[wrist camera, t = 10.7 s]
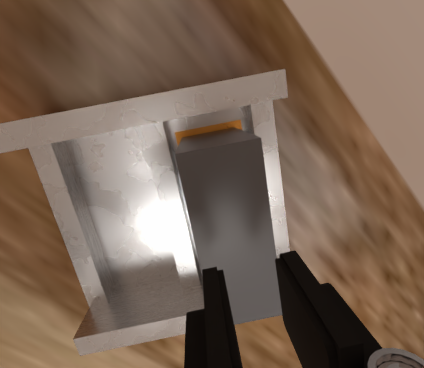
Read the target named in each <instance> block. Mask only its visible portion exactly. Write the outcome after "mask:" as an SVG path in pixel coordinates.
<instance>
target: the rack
mask: <svg viewBox="0 0 424 368" xmlns="http://www.w3.org/2000/svg"><path fill="white" fill-rule="evenodd" d="M287 97H288V92H287V82H286V72H285V69H281V70H276V71H271V72H266V73H261V74H255V75H250V76H245V77H240V78H235V79H229V80H224V81H219V82H214V83H209V84H204V85H198V86H193V87H188V88H183V89H178V90H172V91H167V92H162V93H157V94H152V95H146V96H141V97H136V98H131V99H126V100H120V101H115V102H110V103H105V104H100V105H95V106H89V107H84V108H79V109H74V110H69V111H63V112H58V113H53V114H48V115H43V116H37V117H32V118H27V119H22V120H17V121H12V122H6V123H1V124H0V153H5V152H10V151H15V150H20V149H25V148H28V149H29V151H30V154H31V156H32V159H33V162H34V164H35V167H36V169H37V172H38V175H39V177H40V180H41V182H42V185H43V188H44V190H45V193H46V195H47V198H48V201H49V203H50V206H51V208H52V211H53V214H54V216H55V219H56V221H57V224H58V227H59V229H60V232H61V234H62V237H63V240H64V242H65V245H66V247H67V250H68V253H69V255H70V258H71V260H72V263H73V266H74V268H75V271H76V274H77V276H78V279H79V281H80V284H81V287H82V289H83V292H84V294H85V297H86V300H87V302H88V305H89V307H90V308H89V310H88V312H87V313H86V315H85V317H84V319H83V321H82V323H81V325H80V327H79V329H78V331H77V332H76V334H75V336H74V338H73V340H74V343H75V345H76V347H77V350H78V352H79V355H80V356H81V355H86V354H91V353H96V352H101V351H105V350H110V349H115V348H120V347H124V346H129V345H134V344H139V343H143V342H148V341H153V340H158V339H163V338H167V337H172V336H177V335H182V334H185V332H186V313H187V312H190V311H195V310H200V309H204V294H203V278H202V273H201V269H200V264H199V260H198V255H197V251H196V246H195V242H194V238H193V233H192V229H191V224H190V220H189V215H188V211H187V206H186V202H185V197H184V193H183V188H182V184H181V180H180V175H179V171H178V166H177V162H176V157H175V153H176V150H177V148H178V145H179V143H180V141H181V138H182V137H187V136H192V135H197V134H202V133H207V132H213V131H218V130H223V129H228V128H233V127H235V128H237V129H240V130H243V131H245V132H248V133H250V134H253V135H256V136H258V137H261V140H262V148H263V156H264V164H265V171H266V179H267V187H268V195H269V203H270V210H271V218H272V226H273V234H274V241H275V249H276V257H277V258H280V257H279V255H280V253H285V252H290V248H289V239H288V230H287V222H286V213H285V205H284V196H283V187H282V179H281V170H280V161H279V153H278V144H277V136H276V127H275V118H274V110H273V101H272V100H277V99H282V98H287Z"/></svg>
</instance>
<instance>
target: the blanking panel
mask: <svg viewBox="0 0 424 368" xmlns="http://www.w3.org/2000/svg"><path fill="white" fill-rule="evenodd" d="M175 157H176V162H177V166H178V171H179V175H180V180H181V184H182V188H183V193H184V197H185V202H186V206H187V211H188V215H189V220H190V224H191V229H192V233H193V238H194V242H195V246H196V251H197V255H198V260H199V264H200V269H201V273H202V269H207V268H212V267H217V270H223V272H224V277H225V281H226V286H227V291H228V296H229V301H230V306H231V311H232V316H233V321H234V325H235V324H240V323H245V322H250V321H255V320H260V319H265V318H269V317H274V316H279V315H282V308H281V301H280V294H279V286H278V279H277V271H276V264H275V259H276V258H277V257H276V249H275V241H274V234H273V226H272V218H271V210H270V203H269V195H268V187H267V179H266V171H265V164H264V156H263V148H262V140H261V137H258V136H256V135H253V134H250V133H248V132H245V131H243V130H240V129H237V128H235V127H233V128H228V129H223V130H218V131H213V132H207V133H202V134H197V135H192V136H187V137H182V138H181V141H180V143H179V145H178V148H177V150H176V153H175ZM202 278H203V277H202Z"/></svg>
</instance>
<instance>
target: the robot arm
mask: <svg viewBox="0 0 424 368" xmlns="http://www.w3.org/2000/svg"><path fill="white" fill-rule="evenodd" d="M279 257H280V258H276V259H275V264H276V271H277V279H278V286H279V294H280V301H281V308H282V316H283V321H284V324H285V327H286V330H287V332H288V335H289V337H290V339H291V342H292V344H293V346H294V349H295V351H296V353H297V355H298V358H299V360H300V362H301V365H302V367H303V368H424V360H423V359H422V358H420V357H418V356H417V355H415V354H413V353H410V352H408V351H405V350H401V349H396V348H382V347H381V346H380V345H379V343H378V342H377V341H376V340H375V338H374V337H373V336H372V335H371V333H370V332H369V331H368V330H367V328H366V327H365V326H364V325H363V323H362V322H361V321H360V320H359V318H358V317H357V316H356V315H355V313H354V312H353V311H352V310H351V308H350V307H349V306H348V305H347V303H346V302H345V301H344V300H343V298H342V297H341V296H340V295H339V293H338V292H337V291H336V290H335V288H334V287H333V286H332V285H331V284H329V283H325V284H320V283H319V282H318V281H317V279H316V278H315V277H314V275H313V274H312V273H311V271H310V270H309V268H308V267H307V266H306V264H305V263H304V262H303V260H302V259H301V258H300V256H299V255H298V254H297V252H296V251H290V252H285V253H280V255H279ZM202 277H203V294H204V309H200V310H195V311H190V312H187V313H186V332H185V362H184V368H243V367H242V362H241V357H240V352H239V347H238V341H237V336H236V331H235V326H234V321H233V316H232V311H231V306H230V301H229V296H228V291H227V286H226V281H225V277H224V272H223V270H217V267H212V268H207V269H202Z"/></svg>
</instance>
